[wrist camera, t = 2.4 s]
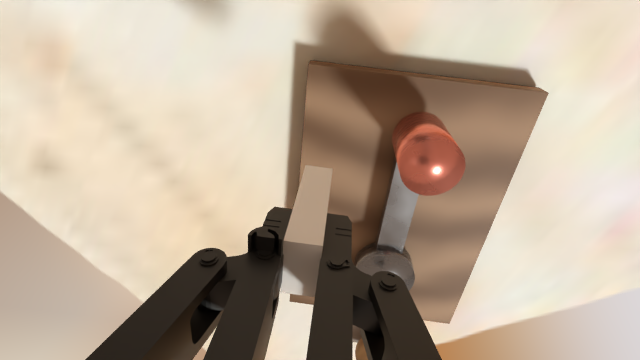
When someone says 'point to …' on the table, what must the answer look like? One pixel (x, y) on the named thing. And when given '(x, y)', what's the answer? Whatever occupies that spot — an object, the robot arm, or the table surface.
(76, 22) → the table surface
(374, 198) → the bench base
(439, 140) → the lever
